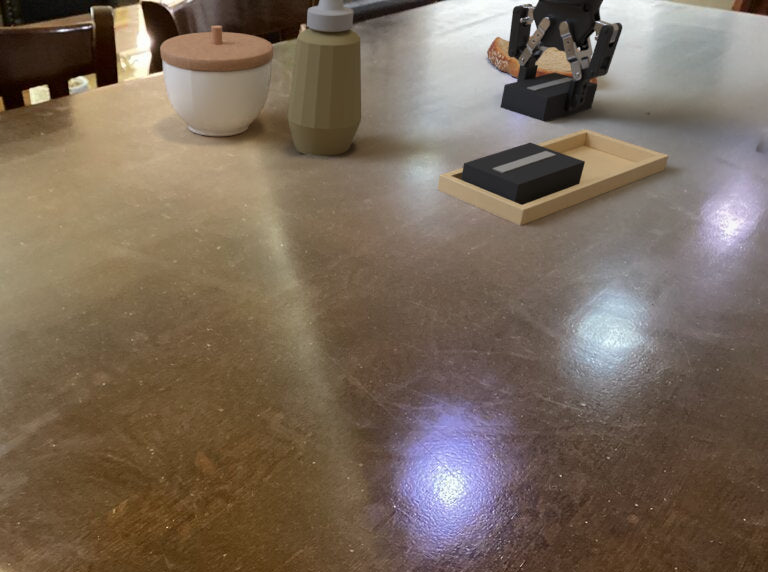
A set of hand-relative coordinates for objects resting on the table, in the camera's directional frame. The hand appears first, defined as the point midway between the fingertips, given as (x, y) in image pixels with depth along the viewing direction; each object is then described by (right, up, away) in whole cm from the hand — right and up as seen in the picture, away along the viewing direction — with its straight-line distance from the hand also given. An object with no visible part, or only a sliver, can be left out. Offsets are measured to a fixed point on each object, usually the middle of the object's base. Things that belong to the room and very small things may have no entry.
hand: (547, 102), depth 103 cm
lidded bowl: (-41, -5, -7) cm, 42 cm away
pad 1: (0, -1, 0) cm, 1 cm away
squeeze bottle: (-29, -10, -12) cm, 33 cm away
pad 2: (-11, -17, -23) cm, 30 cm away
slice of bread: (+5, +10, +16) cm, 19 cm away
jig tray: (-6, -15, -20) cm, 26 cm away
